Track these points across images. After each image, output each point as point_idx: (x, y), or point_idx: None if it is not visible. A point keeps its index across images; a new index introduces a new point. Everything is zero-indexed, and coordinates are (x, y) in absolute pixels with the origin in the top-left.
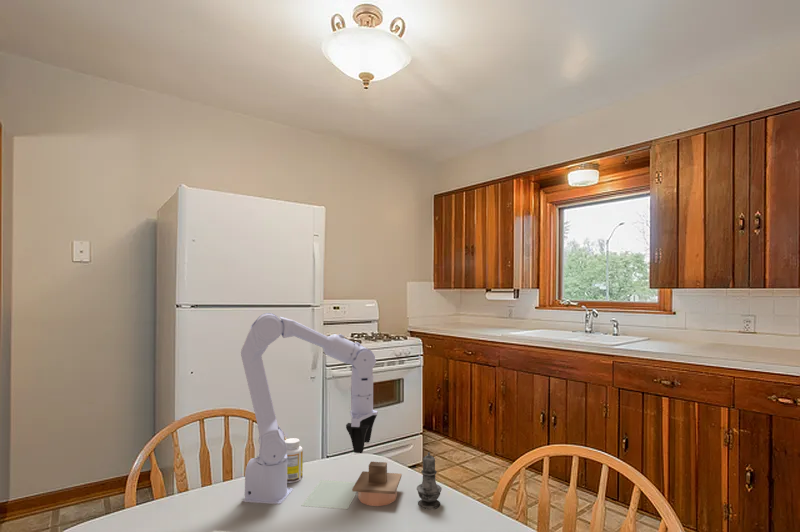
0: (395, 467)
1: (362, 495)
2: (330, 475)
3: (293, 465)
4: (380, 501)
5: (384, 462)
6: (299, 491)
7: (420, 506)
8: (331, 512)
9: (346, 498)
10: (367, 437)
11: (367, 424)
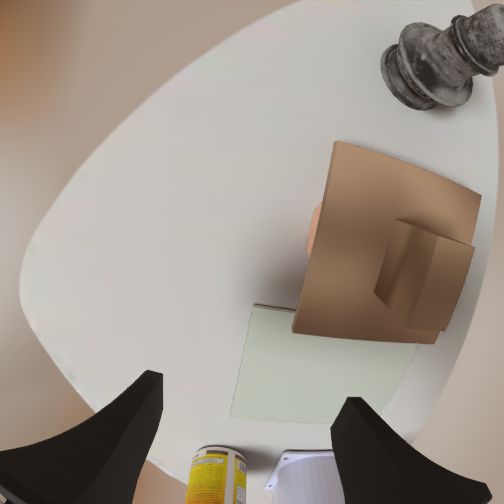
0: (94, 176)
1: None
2: (182, 395)
3: (243, 490)
4: None
5: (436, 251)
6: (288, 441)
7: (432, 107)
8: (417, 359)
9: (368, 341)
10: (152, 404)
11: (118, 481)
